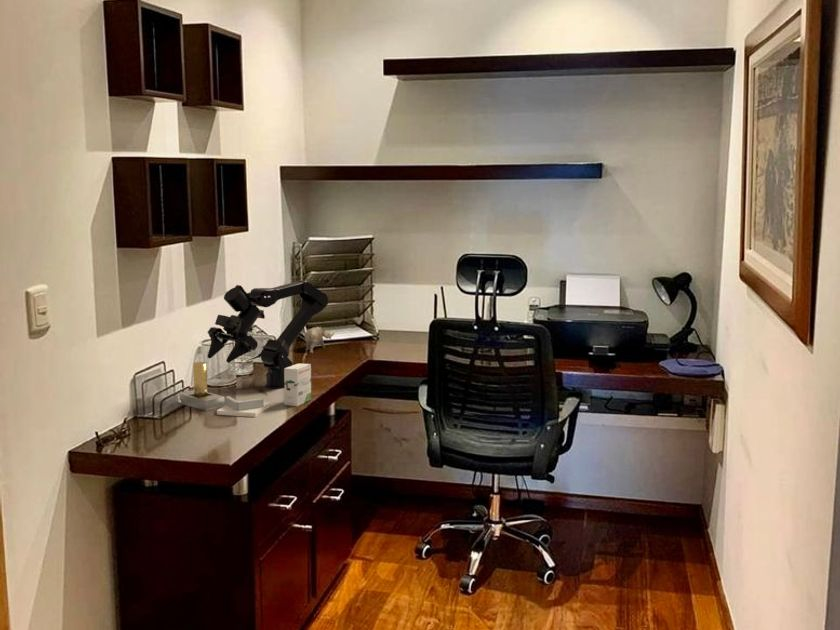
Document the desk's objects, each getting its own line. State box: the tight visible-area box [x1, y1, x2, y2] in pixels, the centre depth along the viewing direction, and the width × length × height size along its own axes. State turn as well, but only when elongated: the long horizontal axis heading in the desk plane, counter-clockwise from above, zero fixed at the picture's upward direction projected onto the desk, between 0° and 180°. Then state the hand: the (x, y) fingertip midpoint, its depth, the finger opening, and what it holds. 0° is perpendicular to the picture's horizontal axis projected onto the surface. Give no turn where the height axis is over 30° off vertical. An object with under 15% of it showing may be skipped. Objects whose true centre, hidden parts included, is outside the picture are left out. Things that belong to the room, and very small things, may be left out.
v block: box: [216, 395, 270, 418], centre depth 252 cm, size 12×12×4 cm
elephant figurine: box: [304, 326, 335, 354], centre depth 345 cm, size 8×14×15 cm
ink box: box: [283, 363, 312, 407], centre depth 261 cm, size 9×5×12 cm, turn 156°
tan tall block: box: [192, 361, 208, 398], centre depth 257 cm, size 4×4×13 cm
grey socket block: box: [179, 389, 225, 412], centre depth 258 cm, size 14×7×3 cm, turn 52°
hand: (217, 359), depth 261 cm, fingers open, 9 cm apart
